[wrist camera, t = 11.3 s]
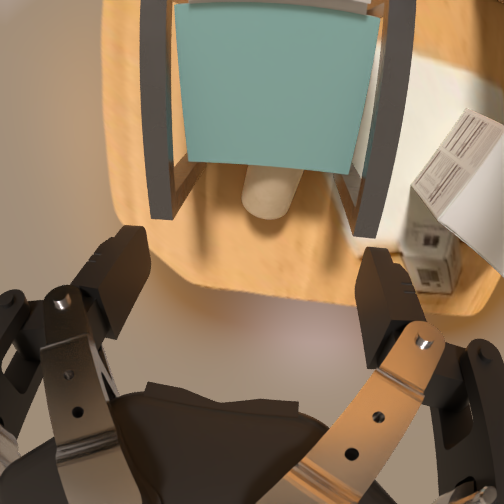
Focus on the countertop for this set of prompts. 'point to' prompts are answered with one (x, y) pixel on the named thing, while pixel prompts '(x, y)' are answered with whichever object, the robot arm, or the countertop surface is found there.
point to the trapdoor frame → (349, 186)
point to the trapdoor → (274, 80)
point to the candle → (269, 190)
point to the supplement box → (469, 185)
